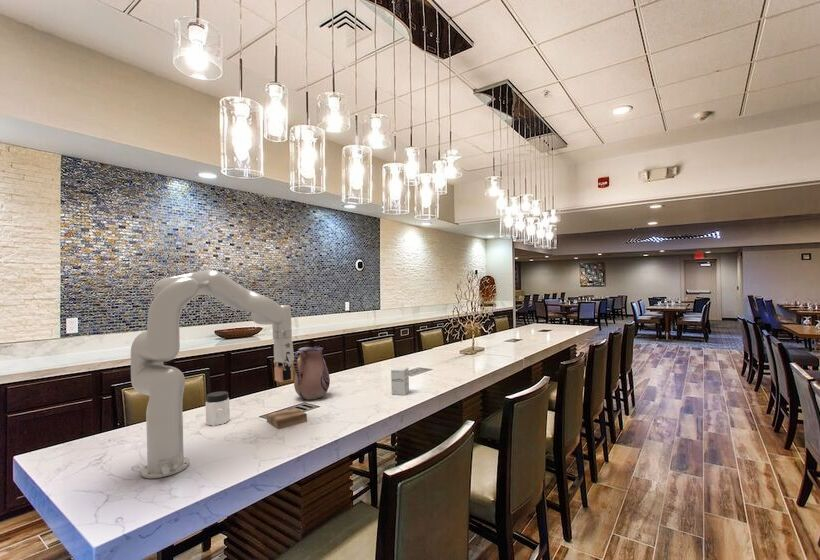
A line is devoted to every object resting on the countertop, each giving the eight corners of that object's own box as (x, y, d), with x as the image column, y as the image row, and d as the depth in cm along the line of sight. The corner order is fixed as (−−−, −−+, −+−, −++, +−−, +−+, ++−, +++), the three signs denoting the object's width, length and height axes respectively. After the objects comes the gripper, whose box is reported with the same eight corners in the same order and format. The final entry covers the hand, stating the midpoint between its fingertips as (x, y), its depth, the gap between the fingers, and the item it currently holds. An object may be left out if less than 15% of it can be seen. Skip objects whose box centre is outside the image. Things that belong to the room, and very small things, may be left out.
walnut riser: (307, 421, 160) (306, 413, 160) (278, 428, 152) (278, 420, 152) (294, 414, 169) (294, 407, 169) (267, 421, 161) (266, 414, 161)
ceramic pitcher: (336, 393, 202) (334, 345, 203) (315, 405, 182) (314, 351, 182) (306, 392, 207) (304, 345, 207) (283, 403, 186) (281, 351, 187)
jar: (207, 427, 157) (206, 397, 157) (205, 422, 163) (204, 393, 164) (231, 422, 161) (230, 393, 162) (228, 417, 168) (227, 390, 169)
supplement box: (391, 395, 195) (390, 369, 195) (396, 391, 202) (395, 366, 202) (405, 395, 192) (404, 370, 193) (409, 391, 200) (408, 367, 200)
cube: (293, 379, 160) (292, 366, 160) (280, 382, 157) (279, 368, 157) (287, 377, 164) (287, 364, 164) (274, 380, 161) (274, 367, 161)
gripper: (299, 335, 157) (301, 380, 156) (282, 332, 170) (284, 374, 169) (281, 337, 152) (283, 383, 152) (265, 334, 165) (267, 377, 164)
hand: (283, 378), depth 160 cm, fingers closed on cube, 5 cm apart
